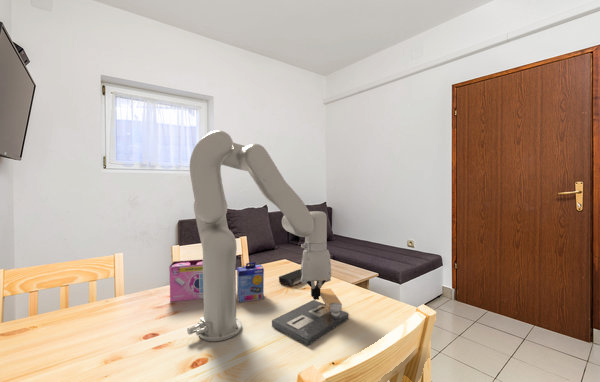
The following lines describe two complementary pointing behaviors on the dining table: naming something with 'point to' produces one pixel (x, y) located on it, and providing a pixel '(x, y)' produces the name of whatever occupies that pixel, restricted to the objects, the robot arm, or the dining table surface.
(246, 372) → the dining table surface
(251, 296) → the ink cartridge box
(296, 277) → the black sponge
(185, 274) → the gum box
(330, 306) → the swing arm
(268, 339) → the dining table surface
